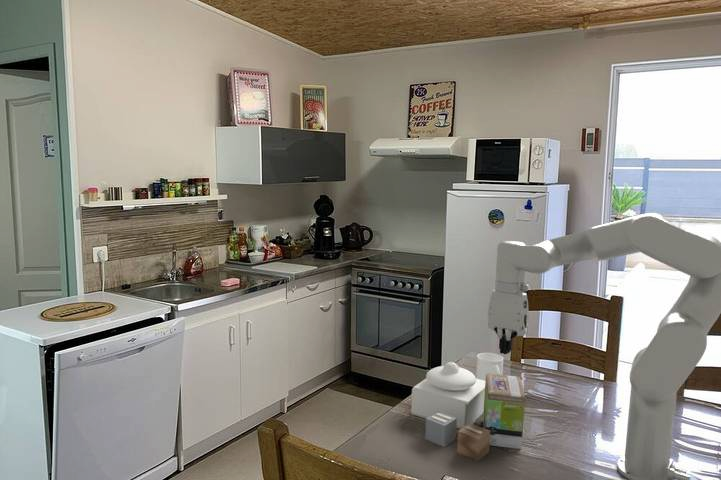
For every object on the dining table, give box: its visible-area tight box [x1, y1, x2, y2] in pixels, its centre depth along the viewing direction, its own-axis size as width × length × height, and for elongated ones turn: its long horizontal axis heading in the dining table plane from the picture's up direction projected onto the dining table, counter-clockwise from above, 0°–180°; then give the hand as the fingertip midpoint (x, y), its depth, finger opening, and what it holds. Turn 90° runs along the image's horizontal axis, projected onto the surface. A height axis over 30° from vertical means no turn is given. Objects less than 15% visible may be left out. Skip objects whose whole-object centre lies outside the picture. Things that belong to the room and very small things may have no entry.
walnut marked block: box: [456, 423, 491, 462], centre depth 137 cm, size 6×6×6 cm
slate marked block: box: [425, 411, 457, 448], centre depth 143 cm, size 6×6×6 cm
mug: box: [475, 352, 504, 381], centre depth 177 cm, size 9×12×11 cm
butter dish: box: [410, 361, 486, 430], centre depth 159 cm, size 18×18×16 cm
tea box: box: [482, 374, 526, 450], centre depth 146 cm, size 15×10×15 cm, turn 168°
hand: (505, 352), depth 144 cm, fingers closed
